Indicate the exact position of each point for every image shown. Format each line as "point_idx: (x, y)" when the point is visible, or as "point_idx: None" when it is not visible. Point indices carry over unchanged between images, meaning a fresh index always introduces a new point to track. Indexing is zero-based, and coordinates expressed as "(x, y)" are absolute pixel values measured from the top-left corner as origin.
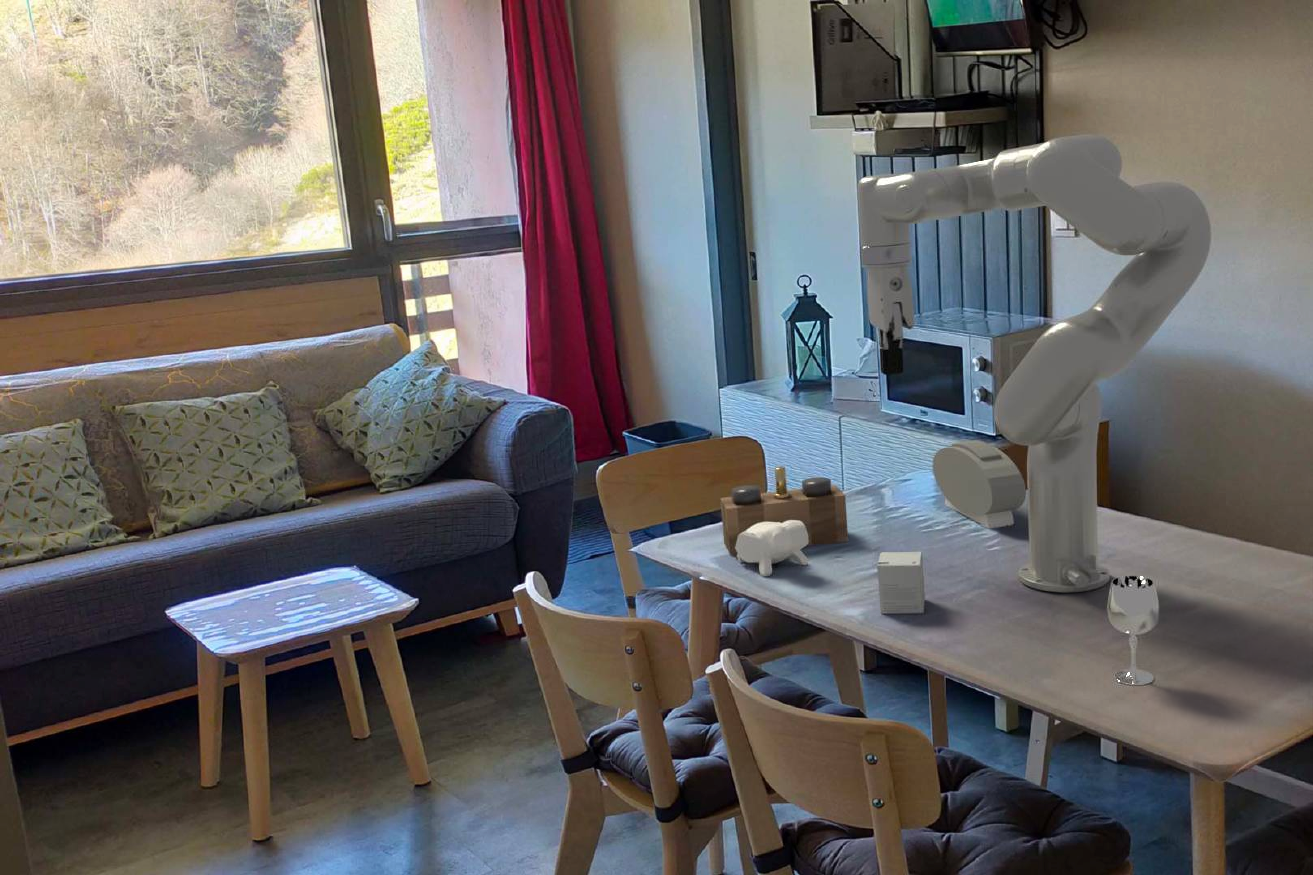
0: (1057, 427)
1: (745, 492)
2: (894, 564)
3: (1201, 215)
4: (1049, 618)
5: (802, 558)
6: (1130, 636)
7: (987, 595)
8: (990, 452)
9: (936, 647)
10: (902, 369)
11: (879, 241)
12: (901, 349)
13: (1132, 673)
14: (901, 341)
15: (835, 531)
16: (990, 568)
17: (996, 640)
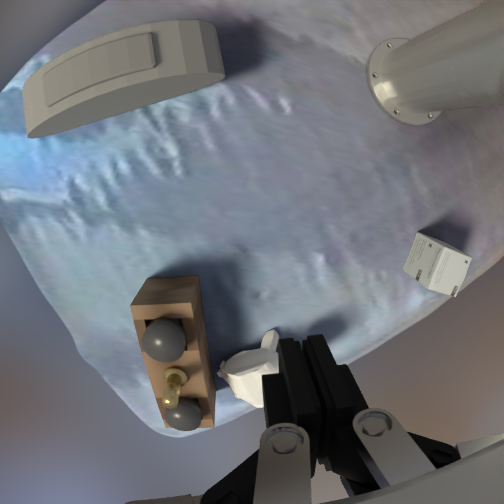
0: None
1: (198, 421)
2: (461, 281)
3: None
4: (479, 144)
5: (276, 337)
6: None
7: (427, 170)
8: (140, 46)
9: (492, 248)
10: (324, 341)
11: None
12: (353, 402)
13: None
14: (406, 435)
15: (198, 295)
16: (356, 135)
17: (497, 202)
